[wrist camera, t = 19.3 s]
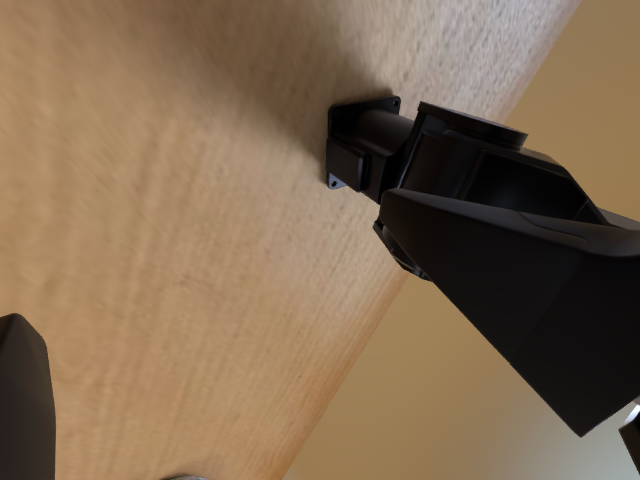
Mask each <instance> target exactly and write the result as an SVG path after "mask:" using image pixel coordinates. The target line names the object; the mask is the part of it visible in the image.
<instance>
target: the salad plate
mask: <svg viewBox="0 0 640 480" xmlns="http://www.w3.org/2000/svg"><path fill="white" fill-rule="evenodd" d="M169 480H208V479H206V478H203V477H194V476H183V477H176V478H172V479H169Z"/></svg>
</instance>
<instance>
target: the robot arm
mask: <svg viewBox="0 0 640 480" xmlns="http://www.w3.org/2000/svg"><path fill="white" fill-rule="evenodd" d="M394 101H395V103H394ZM393 103H394V104H393ZM400 104H401V99H400V97H398V96H395V95H392V96H385V97H379V98H373V99H366V100H360V101H354V102H348V103H341V104H335V105H332V106H331V107H330V109H329V111H328V137H327V141H326V170H327V174H326V185H327V187H329V188H330V189H332V190H333V189H337V188H340V187H344V186H349V187H350V188H352V189H353V190H354V191H356V192H358V193H359V192H361V193H363V194H364V195H366V196H367V197H369V198H370V199H371V200H373V201H374V202H376V203H377V204H379V205H380V211H379V216H378V218H377V220H376V221H375V222H374V225H373V229H374V231H375V232H376V233H377V235H378V236H379V238H380V239H381V241H382V242H383V243H384V245H385V246H386V248H387V249H388V250H389V252H390V253H391V255H392V256H393V258H394V259H395V260H396V261H397V263H398V264H399V265H400V266H401V267H402V268H403V269H404V270H407V271H409V272H410V273H412V274H414V275H416V276H419V277H420V278H421V279H424V280H427V281H431V282H433V283H434V284H435V285H436V286H437V287H438V288H439V289H440V290H441V291H442V292H443V293H444V294H445V296H446V297H447V298H448V299H449V300H450V301H451V302H452V303H453V304H454V305H455V306H456V307H457V308H458V309H459V310H460V312H461V313H463V315H464V316H465V317H466V318H467V319H468V320H469V321H470V322H471V323H472V324H473V325H474V326H475V327H476V328H477V330H478V331H479V332H480V333H481V334H482V335H483V336H484V337H485V338H486V339H487V340H488V341H489V342H490V343H491V344H492V345H493V347H494V348H495V349H496V350H497V351H498V352H499V353H500V354H501V355H502V356H503V357H504V358H505V359H506V360H507V361H508V362H509V363H510V365H511V366H512V367H513V368H514V369H515V370H516V371H517V372H518V373H519V374H520V376H521V377H522V378H523V379H524V380H525V381H526V382H527V383H528V384H529V385H530V386H531V387H532V388H533V389H534V390H535V391H536V392H537V394H539V396H540V397H541V398H542V399H543V400H544V401H545V402H546V403H547V404H548V405H549V406H550V407H551V408H552V410H553V411H554V412H555V413H556V414H557V415H558V416H559V417H560V418H561V419H562V420H563V421H564V422H565V423H566V424H567V425H568V427H569V428H570V429H571V430H572V431H574V433H576V434H577V435H578V436H579V437H583V436H584V435H586V434H587V433H588V432H590V431H591V430H593V429H594V428H595V427H597V426H598V425H600V424H601V423H602V422H604V421H605V420H607V419H608V418H609V417H611V416H612V415H613V414H615V413H616V412H618V411H619V410H620V409H622V408H623V407H624V406H626V405H627V404H629V403H630V402H631V401H634V402H635V403H636V404H637V407H636V408H635V409H634V410H633V412H632V413H631V414H630V415H629V417H628V418H627V419H626V420H625V422H624V423H623V424H622V426H621V427H620V428H619V432H620V435H621V437H622V439H623V441H624V443H625V445H626V447H627V449H628V451H629V454H630V456H631V458H632V460H633V462H634V464H635V466H636V468H637V470H638V472H639V474H640V222H638V221H635V220H632V219H629V218H627V217H624V216H620V215H618V214H615V213H612V212H609V211H606V210H604V209H601V208H598V207H596V206H595V204H594V203H593V202H592V201H591V200H590V198H589V197H588V196H587V195H586V193H585V192H584V191H583V190H582V188H581V187H580V186H579V185H578V183H577V182H576V181H575V180H574V178H573V177H572V176H571V175H570V173H569V172H568V171H567V170H566V169H565V168H564V167H563V166H561V165H560V164H559V163H557V162H556V161H555V160H554V159H552V158H551V157H550V156H548V155H545V154H542V153H539V152H536V151H533V150H530V149H526V148H523V147H522V145H523V143H524V142H525V140H526V138H527V136H528V134H526V133H524V132H521V131H518V130H515V129H513V128H510V127H507V126H504V125H501V124H498V123H496V122H492V121H489V120H486V119H482V118H479V117H476V116H472V115H469V114H466V113H462V112H459V111H455V110H451V109H448V108H444V107H440V106H437V105H433V104H429V103H426V102H422V101H420V104H419V107H418V109H417V111H418V114H417V116H416V119H415V121H413V120H410V119H408V118H405V117H402V116H400V115H399V110H400ZM336 110H337V114H336V115H335V116H334V113H335V111H336ZM333 181H334V183H333V184H332V182H333ZM331 184H332V185H331ZM55 445H56V416H55V406H54V398H53V390H52V383H51V375H50V368H49V360H48V353H47V347H46V343H45V341H44V339H43V338H42V336H41V335H40V334H39V333H38V332H37V331H36V330H35V329H34V328H33V327H32V326H31V325H30V323H29V322H28V321H27V320H26V319H25V318H24V317H23V316H22V315H20V314H17V313H12V314H9V315H6V316H3V317H0V480H55Z"/></svg>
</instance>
